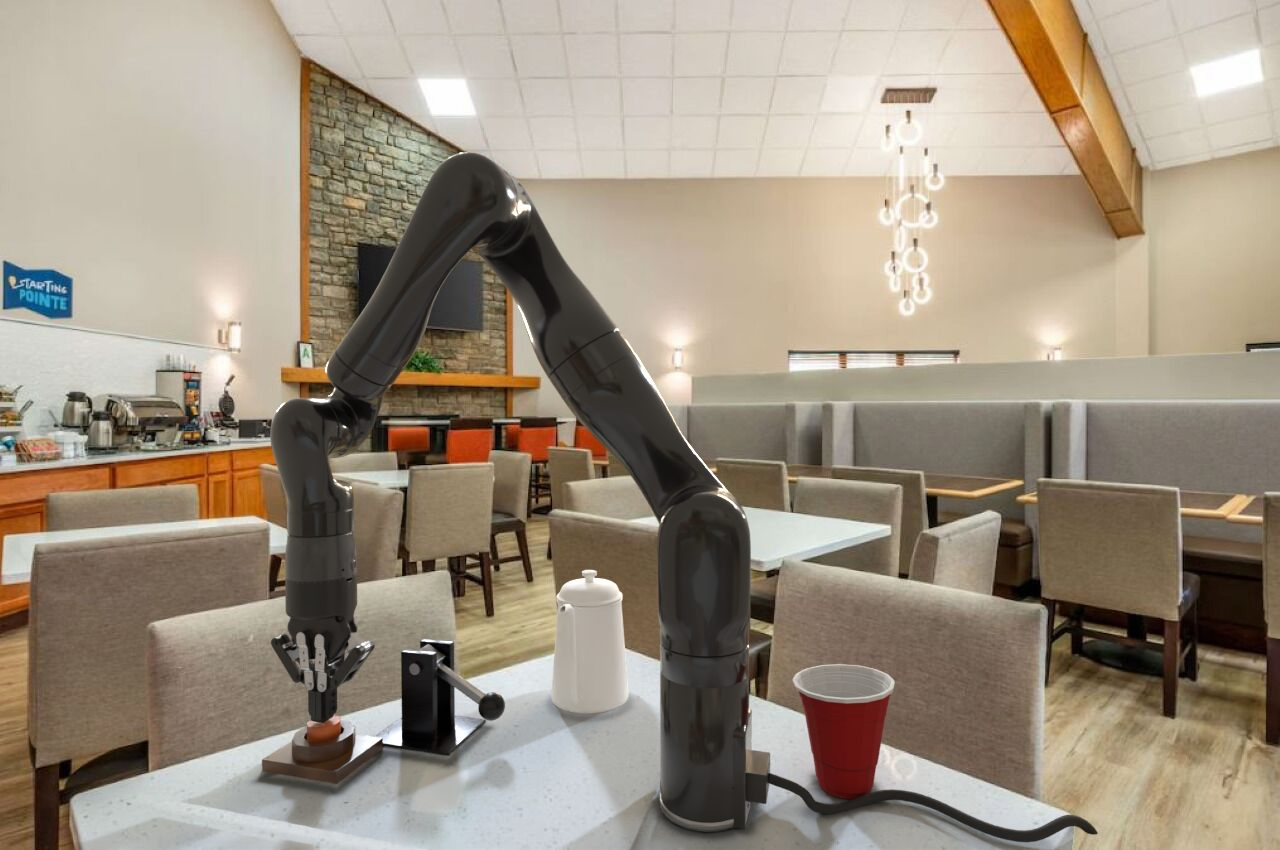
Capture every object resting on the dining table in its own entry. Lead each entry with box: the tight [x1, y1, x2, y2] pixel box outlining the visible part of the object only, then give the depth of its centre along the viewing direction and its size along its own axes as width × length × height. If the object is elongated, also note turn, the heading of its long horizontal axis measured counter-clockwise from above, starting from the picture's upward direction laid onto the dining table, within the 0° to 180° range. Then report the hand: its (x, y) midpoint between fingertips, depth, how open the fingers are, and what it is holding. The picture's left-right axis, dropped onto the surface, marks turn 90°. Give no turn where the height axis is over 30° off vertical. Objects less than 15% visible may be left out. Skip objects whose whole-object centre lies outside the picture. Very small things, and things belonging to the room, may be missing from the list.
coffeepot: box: [551, 569, 629, 714], centre depth 95 cm, size 11×25×19 cm, turn 168°
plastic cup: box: [792, 663, 896, 800], centre depth 74 cm, size 11×11×12 cm
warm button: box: [306, 714, 342, 742], centre depth 78 cm, size 4×4×2 cm
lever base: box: [374, 638, 487, 757], centre depth 85 cm, size 11×9×12 cm
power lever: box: [417, 644, 506, 721], centre depth 83 cm, size 13×3×3 cm, turn 75°
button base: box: [261, 720, 384, 785], centre depth 78 cm, size 10×8×4 cm
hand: (323, 719), depth 78 cm, fingers closed
